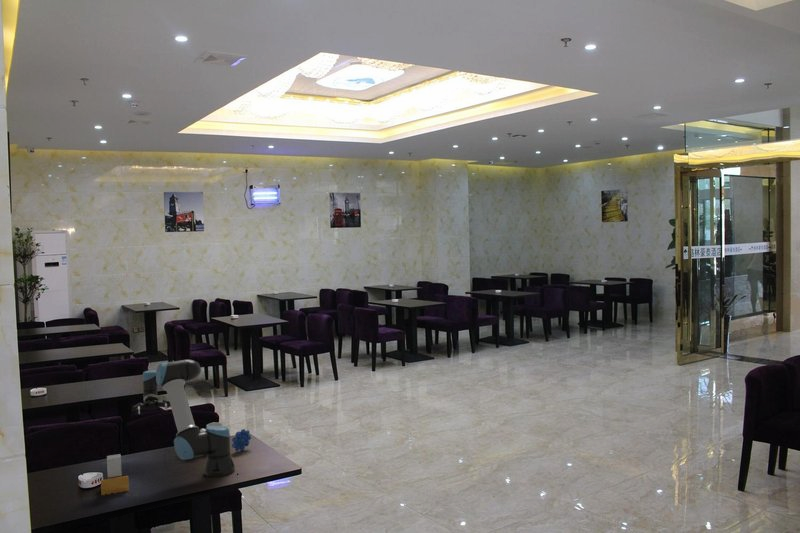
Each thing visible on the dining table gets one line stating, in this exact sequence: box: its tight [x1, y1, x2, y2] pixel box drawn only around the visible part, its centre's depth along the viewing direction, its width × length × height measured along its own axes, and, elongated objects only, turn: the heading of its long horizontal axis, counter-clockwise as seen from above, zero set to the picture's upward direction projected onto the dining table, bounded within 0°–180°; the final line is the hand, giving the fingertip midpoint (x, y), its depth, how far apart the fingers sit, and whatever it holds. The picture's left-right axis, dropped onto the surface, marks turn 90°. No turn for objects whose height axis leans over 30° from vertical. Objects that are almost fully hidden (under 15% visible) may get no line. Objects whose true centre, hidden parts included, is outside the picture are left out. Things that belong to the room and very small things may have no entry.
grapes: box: [231, 428, 252, 452], centre depth 360 cm, size 12×7×12 cm, turn 129°
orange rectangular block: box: [100, 475, 130, 496], centre depth 305 cm, size 9×12×7 cm
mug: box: [206, 422, 223, 427], centre depth 376 cm, size 12×9×11 cm
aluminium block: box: [106, 453, 123, 479], centre depth 306 cm, size 6×6×12 cm
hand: (152, 409), depth 338 cm, fingers open, 13 cm apart
